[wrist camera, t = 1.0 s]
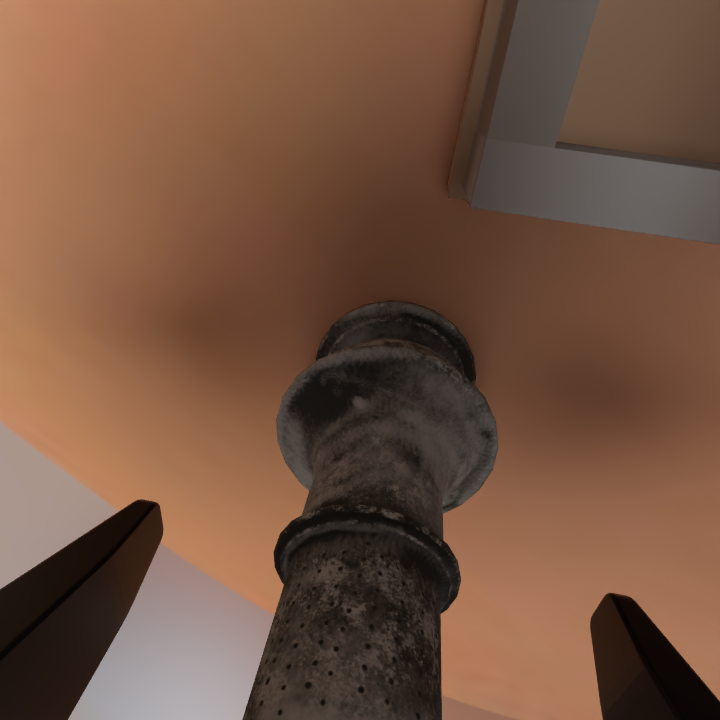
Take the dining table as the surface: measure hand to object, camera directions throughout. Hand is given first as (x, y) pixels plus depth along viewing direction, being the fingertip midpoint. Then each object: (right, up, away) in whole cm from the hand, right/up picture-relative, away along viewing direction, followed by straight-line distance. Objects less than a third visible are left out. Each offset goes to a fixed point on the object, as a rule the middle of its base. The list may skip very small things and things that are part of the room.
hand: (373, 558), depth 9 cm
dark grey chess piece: (+1, +4, +6) cm, 7 cm away
